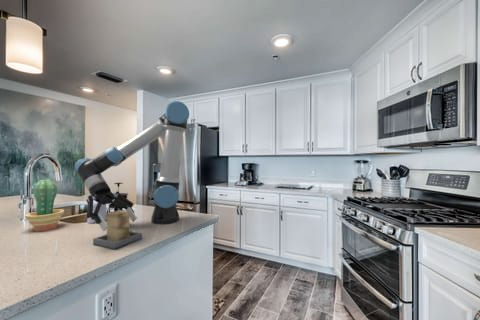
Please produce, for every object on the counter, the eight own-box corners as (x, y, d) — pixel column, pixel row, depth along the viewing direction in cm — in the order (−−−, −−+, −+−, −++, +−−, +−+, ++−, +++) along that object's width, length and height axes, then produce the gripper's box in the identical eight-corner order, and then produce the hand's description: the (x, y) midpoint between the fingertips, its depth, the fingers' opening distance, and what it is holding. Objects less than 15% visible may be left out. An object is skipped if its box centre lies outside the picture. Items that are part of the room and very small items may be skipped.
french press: (131, 227, 114) (131, 182, 114) (110, 231, 108) (110, 184, 108) (125, 222, 123) (125, 181, 123) (106, 225, 117) (105, 182, 117)
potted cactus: (62, 222, 125) (61, 177, 125) (67, 227, 115) (66, 179, 115) (24, 228, 114) (23, 179, 114) (26, 235, 104) (25, 181, 104)
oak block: (120, 237, 98) (119, 210, 98) (129, 238, 96) (129, 211, 96) (107, 241, 93) (106, 213, 93) (116, 243, 90) (116, 214, 90)
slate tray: (121, 234, 103) (121, 229, 103) (142, 238, 97) (142, 233, 97) (93, 244, 91) (93, 238, 91) (114, 250, 86) (114, 243, 86)
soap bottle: (84, 224, 121) (84, 179, 121) (91, 219, 130) (90, 177, 130) (103, 222, 123) (102, 178, 123) (108, 218, 132) (107, 177, 132)
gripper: (119, 189, 112) (141, 222, 106) (62, 197, 89) (86, 239, 83) (126, 178, 110) (149, 211, 104) (70, 184, 87) (95, 227, 81)
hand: (121, 224), depth 93 cm, fingers open, 13 cm apart
